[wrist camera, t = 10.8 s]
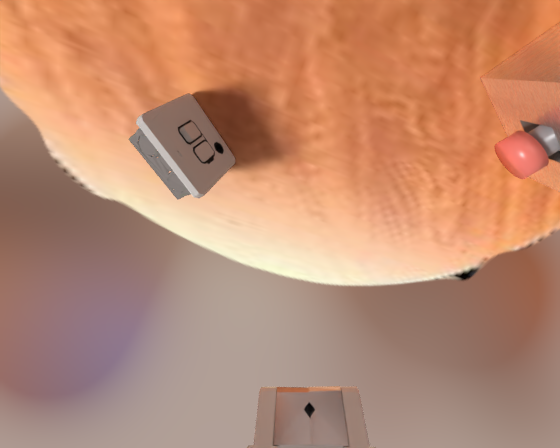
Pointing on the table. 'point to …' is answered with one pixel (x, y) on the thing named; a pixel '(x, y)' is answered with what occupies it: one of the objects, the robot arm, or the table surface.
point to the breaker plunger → (527, 150)
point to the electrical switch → (182, 147)
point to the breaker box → (530, 94)
